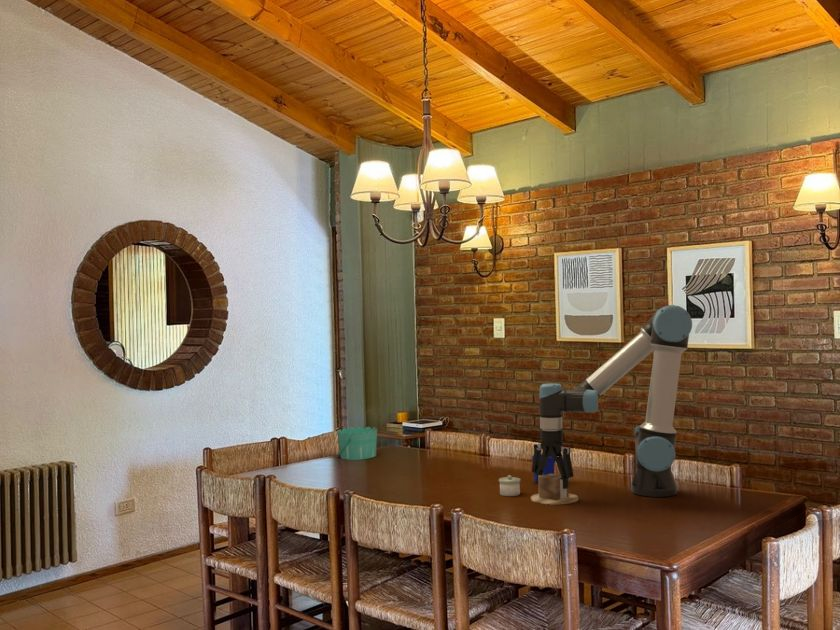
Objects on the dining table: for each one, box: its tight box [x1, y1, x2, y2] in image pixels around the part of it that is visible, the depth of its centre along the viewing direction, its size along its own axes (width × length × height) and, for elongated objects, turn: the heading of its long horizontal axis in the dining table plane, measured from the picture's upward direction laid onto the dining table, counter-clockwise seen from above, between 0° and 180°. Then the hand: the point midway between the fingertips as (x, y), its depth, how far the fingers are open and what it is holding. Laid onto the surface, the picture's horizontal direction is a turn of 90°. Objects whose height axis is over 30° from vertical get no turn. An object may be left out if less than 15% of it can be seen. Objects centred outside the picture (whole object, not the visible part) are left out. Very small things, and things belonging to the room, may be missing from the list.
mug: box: [531, 453, 564, 483], centre depth 279 cm, size 8×12×10 cm
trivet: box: [530, 492, 580, 506], centre depth 253 cm, size 16×16×1 cm
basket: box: [336, 426, 378, 461], centre depth 350 cm, size 19×18×13 cm
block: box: [538, 473, 569, 500], centre depth 253 cm, size 7×7×7 cm
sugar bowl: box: [498, 474, 521, 497], centre depth 263 cm, size 8×8×7 cm
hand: (552, 495), depth 253 cm, fingers open, 8 cm apart
